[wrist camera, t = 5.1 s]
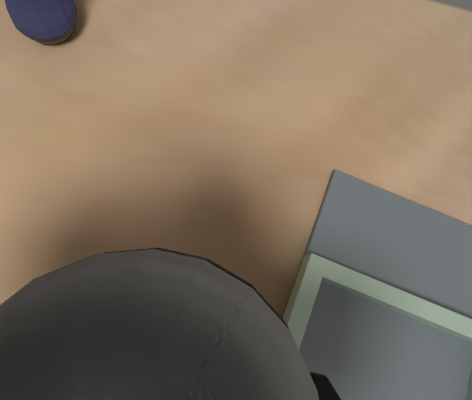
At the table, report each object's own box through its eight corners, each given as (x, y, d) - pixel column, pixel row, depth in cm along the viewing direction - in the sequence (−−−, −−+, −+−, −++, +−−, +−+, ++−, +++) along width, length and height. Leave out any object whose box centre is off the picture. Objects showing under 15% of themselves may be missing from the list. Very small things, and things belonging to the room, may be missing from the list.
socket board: (429, 661, 19) (452, 695, 17) (198, 562, 19) (199, 586, 18) (504, 243, 26) (526, 237, 24) (332, 172, 26) (342, 162, 24)
